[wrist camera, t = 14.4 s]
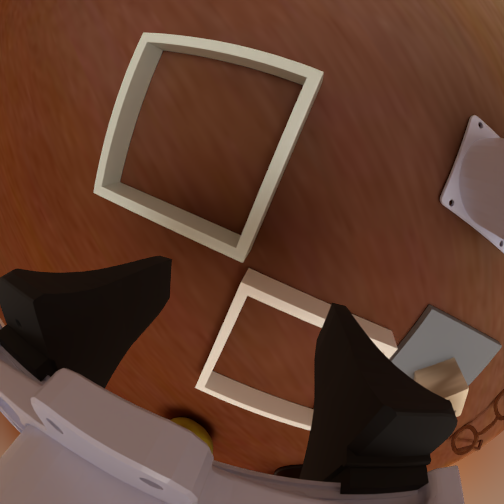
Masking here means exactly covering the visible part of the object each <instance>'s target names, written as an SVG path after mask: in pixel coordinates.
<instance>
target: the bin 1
mask: <svg viewBox="0 0 504 504" xmlns="http://www.w3.org/2000/svg"><path fill="white" fill-rule="evenodd" d="M163 51H171V52H178V53H185V54H191V55H196V56H202V57H207V58H211V59H216V60H221V61H225V62H229V63H233V64H237V65H241V66H245V67H248V68H252V69H255V70H259V71H262V72H265V73H269V74H272V75H275V76H278V77H281V78H284V79H287V80H290V81H292V82H295V83H298V84H301V85H303V88H302V90H301V92H300V95H299V97H298V99H297V102H296V104H295V106H294V109H293V111H292V113H291V116H290V118H289V120H288V123H287V125H286V127H285V130H284V132H283V135H282V137H281V139H280V142H279V144H278V146H277V149H276V151H275V154H274V156H273V158H272V161H271V163H270V166H269V168H268V171H267V173H266V175H265V178H264V180H263V183H262V185H261V188H260V190H259V192H258V195H257V197H256V200H255V202H254V205H253V207H252V210H251V212H250V215H249V217H248V219H247V222H246V224H245V227H244V229H243V232H242V234H241V235H239V234H237V233H234V232H232V231H230V230H228V229H225V228H223V227H221V226H219V225H216V224H214V223H212V222H210V221H207V220H205V219H203V218H201V217H198V216H196V215H194V214H192V213H189V212H187V211H185V210H183V209H180V208H178V207H176V206H174V205H171V204H169V203H167V202H164V201H162V200H160V199H158V198H155V197H153V196H151V195H148V194H146V193H144V192H141V191H139V190H137V189H135V188H132V187H130V186H128V185H125V184H123V183H121V182H120V180H121V175H122V171H123V167H124V163H125V159H126V155H127V151H128V148H129V144H130V140H131V137H132V134H133V130H134V127H135V124H136V120H137V117H138V114H139V111H140V108H141V105H142V102H143V100H144V97H145V94H146V91H147V89H148V86H149V83H150V81H151V78H152V76H153V73H154V71H155V68H156V66H157V64H158V61H159V59H160V57H161V54H162V52H163ZM323 75H324V72H323V71H320V70H317V69H315V68H312V67H310V66H307V65H304V64H301V63H298V62H295V61H292V60H289V59H286V58H283V57H280V56H277V55H273V54H270V53H267V52H263V51H259V50H255V49H252V48H248V47H243V46H239V45H235V44H230V43H225V42H220V41H215V40H209V39H203V38H196V37H189V36H181V35H171V34H159V33H143V35H142V37H141V39H140V41H139V43H138V45H137V48H136V50H135V52H134V54H133V57H132V59H131V62H130V64H129V67H128V69H127V72H126V74H125V77H124V80H123V82H122V85H121V88H120V91H119V94H118V96H117V99H116V102H115V106H114V109H113V112H112V115H111V119H110V122H109V126H108V129H107V133H106V137H105V140H104V144H103V149H102V153H101V157H100V162H99V166H98V171H97V176H96V181H95V187H94V193H95V194H97V195H99V196H101V197H103V198H105V199H107V200H110V201H112V202H114V203H116V204H118V205H120V206H122V207H124V208H126V209H128V210H130V211H132V212H135V213H137V214H139V215H141V216H143V217H145V218H147V219H149V220H151V221H153V222H156V223H158V224H160V225H162V226H164V227H166V228H168V229H170V230H173V231H175V232H177V233H179V234H181V235H183V236H185V237H187V238H190V239H192V240H194V241H196V242H198V243H200V244H202V245H205V246H207V247H209V248H211V249H213V250H215V251H218V252H220V253H222V254H224V255H226V256H228V257H231V258H233V259H235V260H237V261H239V262H242V263H243V262H244V260H245V259H246V257H247V255H248V254H249V252H250V251H251V248H252V246H253V244H254V241H255V239H256V236H257V234H258V232H259V229H260V227H261V225H262V222H263V220H264V218H265V215H266V213H267V211H268V208H269V206H270V204H271V201H272V199H273V196H274V194H275V192H276V189H277V187H278V185H279V182H280V180H281V178H282V175H283V173H284V171H285V168H286V166H287V164H288V161H289V159H290V157H291V154H292V152H293V150H294V147H295V145H296V143H297V140H298V138H299V135H300V133H301V131H302V128H303V126H304V124H305V121H306V119H307V117H308V114H309V112H310V110H311V107H312V105H313V103H314V100H315V98H316V96H317V93H318V91H319V89H320V86H321V84H322V81H323Z"/></svg>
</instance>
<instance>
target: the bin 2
mask: <svg viewBox="0 0 504 504" xmlns="http://www.w3.org/2000/svg"><path fill="white" fill-rule="evenodd" d="M247 296H250V297H252V298H254V299H256V300H258V301H261V302H263V303H265V304H267V305H270V306H272V307H274V308H276V309H279V310H281V311H283V312H286V313H288V314H290V315H292V316H295V317H297V318H299V319H302V320H304V321H306V322H309V323H311V324H314V325H316V326H318V327H321V328H322V327H323V324H324V322H325V319H326V317H327V314H328V312H329V309H330V307H331V304H328V303H326V302H324V301H322V300H319V299H317V298H315V297H312V296H310V295H308V294H306V293H303V292H301V291H299V290H297V289H294V288H292V287H290V286H288V285H286V284H283V283H281V282H279V281H277V280H274V279H272V278H270V277H268V276H266V275H263V274H261V273H259V272H257V271H255V270H252V269H250V268H248V270H247V272H246V274H245V276H244V277H243V279H242V281H241V283H240V286H239V288H238V290H237V292H236V295H235V297H234V299H233V302H232V304H231V306H230V309H229V311H228V313H227V316H226V318H225V320H224V323H223V325H222V327H221V329H220V332H219V334H218V336H217V339H216V341H215V343H214V346H213V348H212V350H211V353H210V355H209V357H208V359H207V362H206V364H205V366H204V369H203V371H202V373H201V376H200V378H199V380H198V383H197V385H196V387H195V388H197V389H199V390H201V391H203V392H206V393H208V394H210V395H212V396H214V397H217V398H219V399H221V400H224V401H226V402H229V403H231V404H233V405H236V406H238V407H241V408H243V409H246V410H249V411H251V412H254V413H257V414H260V415H262V416H265V417H268V418H271V419H274V420H277V421H280V422H283V423H286V424H289V425H293V426H296V427H299V428H303V429H306V430H311V424H312V418H313V411H314V409H311V408H307V407H304V406H301V405H298V404H295V403H292V402H289V401H286V400H283V399H281V398H278V397H275V396H272V395H270V394H267V393H264V392H262V391H259V390H256V389H254V388H251V387H249V386H246V385H244V384H242V383H239V382H237V381H234V380H232V379H230V378H227V377H225V376H223V375H221V374H218V373H216V372H214V371H212V370H213V368H214V366H215V364H216V362H217V360H218V357H219V355H220V353H221V351H222V349H223V347H224V345H225V343H226V340H227V338H228V336H229V334H230V332H231V330H232V328H233V326H234V323H235V321H236V319H237V317H238V315H239V313H240V310H241V308H242V306H243V304H244V302H245V300H246V298H247ZM352 315H353V316H354V318H355V319H356V321H357V322H358V323H359V325H360V326H361V327H362V329H363V330H364V331H365V333H366V334H367V335H368V336H369V338H370V339H371V340H372V341H373V343H374V344H375V345H376V346H377V347H378V348H379V350H380V351H381V352H382V353H383V354H384V355H385V356H386V357H387V358H388V359H390V357H391V356H392V355H393V354H394V353H395V352H396V350H397V349H398V348H397V345H396V342H395V339H394V336H393V333H392V331H391V330H388V329H386V328H384V327H381V326H379V325H377V324H374V323H372V322H370V321H367V320H365V319H363V318H360V317H358V316H356V315H354V314H352Z"/></svg>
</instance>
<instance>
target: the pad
mask: <svg viewBox="0 0 504 504" xmlns="http://www.w3.org/2000/svg"><path fill="white" fill-rule="evenodd" d="M501 347H502V346H501V344H500V343H499V342H498V341H496V340H495V339H493V338H491V337H489V336H487V335H486V334H484V333H482V332H480V331H478V330H477V329H475V328H473V327H471V326H469V325H467V324H466V323H464V322H462V321H460V320H458V319H456V318H454V317H453V316H451V315H449V314H447V313H445V312H443V311H441V310H439V309H437V308H435V307H434V306H432V305H430V304H429V305H428V307H427V308H426V309H425V311H424V312H423V314H422V315H421V317H420V318H419V319H418V321H417V322H416V323H415V325H414V326H413V327H412V329H411V330H410V331H409V333H408V334H407V335H406V336H405V338H404V339H403V340H402V341H401V343H400V344H399V345H398V346H397V348H398V349H397V350H396V352H395V353H394V354H393V355H392V356H391V357H390V359H389V360H390V361H391V362H392V363H393V364H395V365H396V366H397V367H398V368H399V369H400V370H402V371H403V372H404V373H405V374H407V375H408V376H409V377H410V378H412V379H413V380H414V374H415V371H417V370H420V369H423V368H426V367H429V366H432V365H435V364H437V363H440V362H443V361H446V360H448V359H451V358H455V360H456V362H457V364H458V366H459V368H460V370H461V372H462V374H463V376H464V379H465V381H466V383H467V385H469V384H470V383H471V382H472V381H473V380H474V379H475V378H476V377H477V376H478V375H479V374H480V372H481V371H482V370H483V369H484V368H485V367H486V366H487V364H488V363H489V362H490V361H491V360H492V358H493V357H494V356H495V355H496V353H497V352H498V351H499V350H500V348H501Z"/></svg>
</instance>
